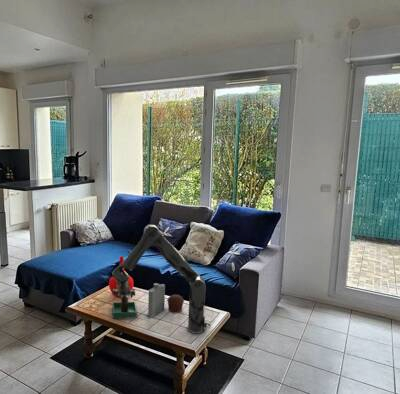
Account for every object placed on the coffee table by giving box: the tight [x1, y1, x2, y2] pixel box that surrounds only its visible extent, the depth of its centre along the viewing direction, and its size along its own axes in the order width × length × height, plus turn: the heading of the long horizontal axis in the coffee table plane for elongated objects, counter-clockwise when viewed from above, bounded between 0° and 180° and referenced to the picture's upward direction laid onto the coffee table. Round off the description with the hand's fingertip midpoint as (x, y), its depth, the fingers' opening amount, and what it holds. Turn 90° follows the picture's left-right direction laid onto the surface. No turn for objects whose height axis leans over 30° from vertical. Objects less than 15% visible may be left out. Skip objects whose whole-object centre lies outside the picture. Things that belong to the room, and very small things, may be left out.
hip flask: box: [147, 282, 166, 318], centre depth 229 cm, size 16×4×20 cm, turn 142°
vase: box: [108, 255, 135, 299], centre depth 253 cm, size 18×18×30 cm
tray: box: [112, 301, 138, 319], centre depth 229 cm, size 15×15×4 cm
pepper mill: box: [120, 295, 129, 312], centre depth 228 cm, size 5×5×12 cm
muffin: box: [166, 294, 185, 313], centre depth 234 cm, size 12×11×10 cm
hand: (124, 296), depth 229 cm, fingers open, 8 cm apart
